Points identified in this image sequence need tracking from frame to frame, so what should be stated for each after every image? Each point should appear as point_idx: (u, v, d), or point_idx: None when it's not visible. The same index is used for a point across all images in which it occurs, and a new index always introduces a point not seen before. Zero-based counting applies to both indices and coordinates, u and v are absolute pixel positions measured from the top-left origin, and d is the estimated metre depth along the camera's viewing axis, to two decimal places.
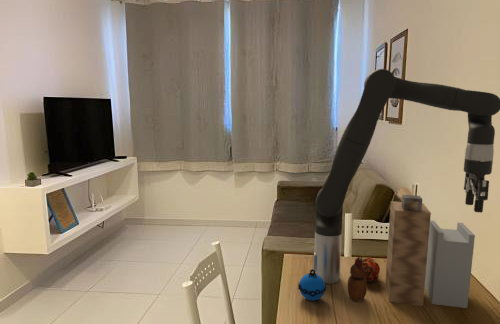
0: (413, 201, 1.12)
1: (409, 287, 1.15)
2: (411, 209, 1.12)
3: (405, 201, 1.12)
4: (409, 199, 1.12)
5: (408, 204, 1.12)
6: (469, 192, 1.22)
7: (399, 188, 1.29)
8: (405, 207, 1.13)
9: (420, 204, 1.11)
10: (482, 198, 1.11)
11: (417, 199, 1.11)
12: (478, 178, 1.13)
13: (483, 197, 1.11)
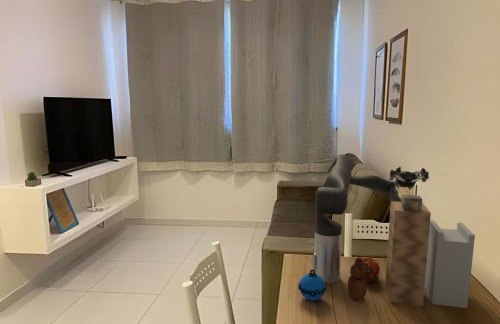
0: (413, 201, 1.12)
1: (409, 287, 1.15)
2: (411, 209, 1.12)
3: (405, 201, 1.12)
4: (409, 199, 1.12)
5: (408, 204, 1.12)
6: None
7: (399, 188, 1.29)
8: (405, 207, 1.13)
9: (420, 204, 1.11)
10: (428, 174, 1.46)
11: (417, 199, 1.11)
12: None
13: None
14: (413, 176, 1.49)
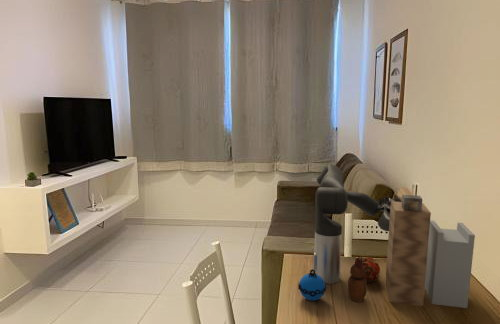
0: (413, 201, 1.12)
1: (409, 287, 1.15)
2: (411, 209, 1.12)
3: (405, 201, 1.12)
4: (409, 199, 1.12)
5: (408, 204, 1.12)
6: None
7: (399, 188, 1.29)
8: (405, 207, 1.13)
9: (420, 204, 1.11)
10: None
11: (417, 199, 1.11)
12: None
13: None
14: None
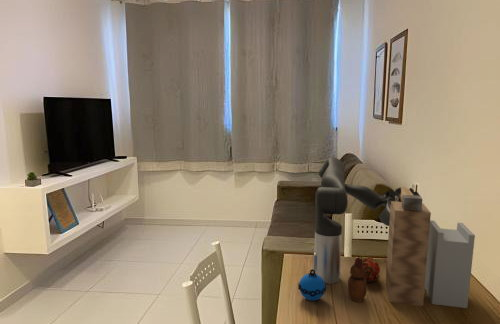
0: (413, 201, 1.12)
1: (409, 287, 1.15)
2: (411, 209, 1.12)
3: (405, 201, 1.12)
4: (409, 199, 1.12)
5: (408, 204, 1.12)
6: None
7: None
8: (405, 207, 1.13)
9: (420, 204, 1.11)
10: (416, 194, 1.29)
11: (417, 199, 1.11)
12: None
13: None
14: None
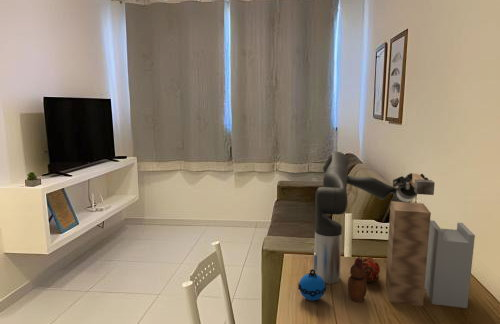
0: (426, 185, 1.17)
1: (409, 287, 1.15)
2: (424, 192, 1.17)
3: (418, 185, 1.17)
4: (422, 183, 1.17)
5: (421, 188, 1.17)
6: None
7: None
8: (418, 191, 1.18)
9: (432, 188, 1.16)
10: None
11: (429, 183, 1.16)
12: None
13: None
14: None
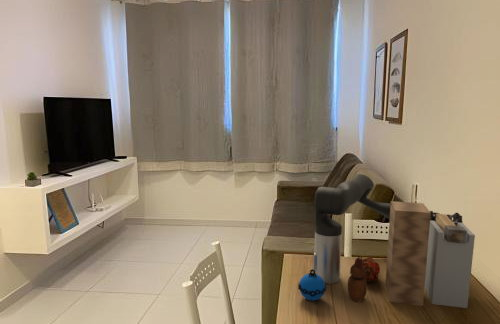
0: (457, 233, 1.11)
1: (409, 287, 1.15)
2: (455, 241, 1.11)
3: (449, 232, 1.11)
4: (453, 231, 1.11)
5: (452, 236, 1.11)
6: None
7: (437, 215, 1.28)
8: (449, 238, 1.11)
9: (464, 236, 1.10)
10: (461, 219, 1.28)
11: (461, 231, 1.10)
12: None
13: None
14: None
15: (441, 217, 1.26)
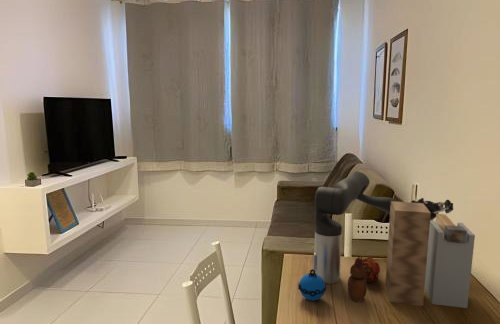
0: (457, 233, 1.11)
1: (409, 287, 1.15)
2: (455, 241, 1.11)
3: (449, 232, 1.11)
4: (453, 231, 1.11)
5: (452, 236, 1.11)
6: None
7: (437, 215, 1.28)
8: (449, 238, 1.11)
9: (464, 236, 1.10)
10: (452, 206, 1.37)
11: (461, 231, 1.10)
12: None
13: None
14: (436, 207, 1.39)
15: (441, 217, 1.26)
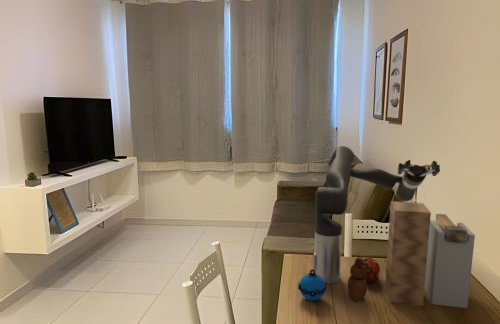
0: (457, 233, 1.11)
1: (409, 287, 1.15)
2: (455, 241, 1.11)
3: (449, 232, 1.11)
4: (453, 231, 1.11)
5: (452, 236, 1.11)
6: None
7: (437, 215, 1.28)
8: (449, 238, 1.11)
9: (464, 236, 1.10)
10: None
11: (461, 231, 1.10)
12: None
13: None
14: (423, 170, 1.40)
15: (441, 217, 1.26)
